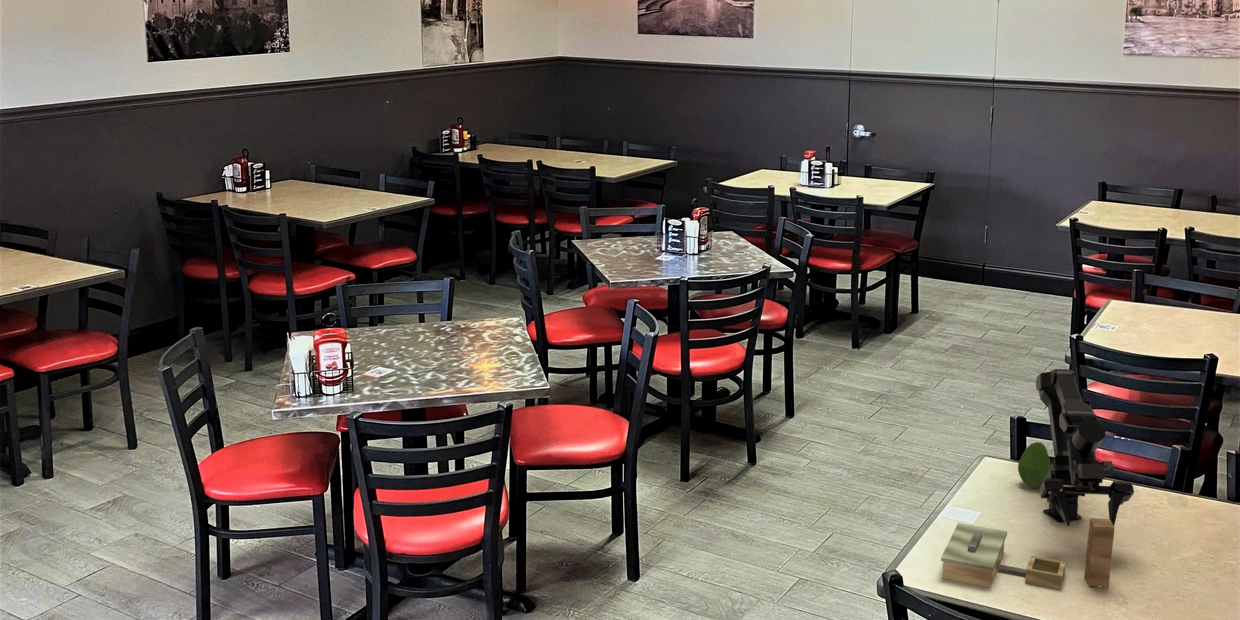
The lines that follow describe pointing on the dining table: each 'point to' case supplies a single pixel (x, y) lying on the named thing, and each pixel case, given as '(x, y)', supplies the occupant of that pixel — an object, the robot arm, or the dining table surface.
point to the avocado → (1034, 465)
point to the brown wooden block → (1099, 552)
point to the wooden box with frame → (992, 559)
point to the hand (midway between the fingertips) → (1090, 526)
